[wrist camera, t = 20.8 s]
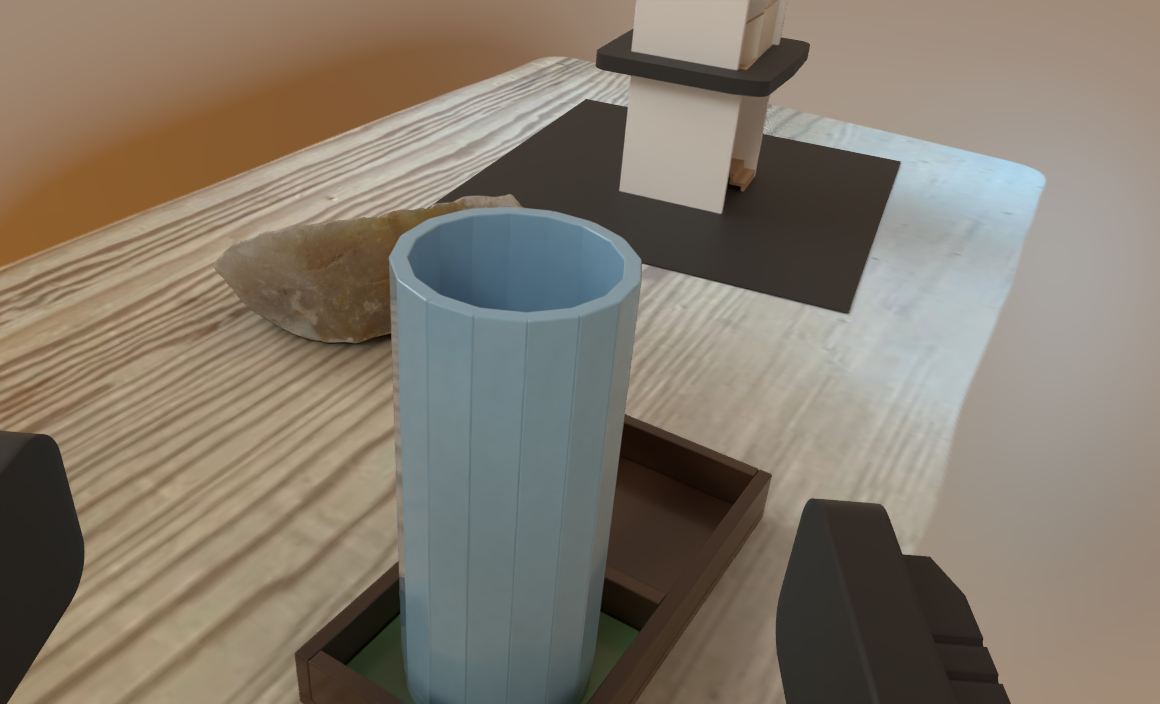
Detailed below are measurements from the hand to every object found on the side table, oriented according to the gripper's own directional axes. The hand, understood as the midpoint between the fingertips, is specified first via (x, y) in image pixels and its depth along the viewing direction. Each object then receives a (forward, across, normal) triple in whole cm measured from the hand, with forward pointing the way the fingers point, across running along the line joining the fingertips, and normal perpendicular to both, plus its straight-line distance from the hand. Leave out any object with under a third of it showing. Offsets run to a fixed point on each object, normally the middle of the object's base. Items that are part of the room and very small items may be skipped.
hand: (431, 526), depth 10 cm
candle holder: (+50, -9, +16) cm, 54 cm away
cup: (+11, 0, +15) cm, 19 cm away
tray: (+14, -2, +16) cm, 21 cm away
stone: (+32, +7, +16) cm, 36 cm away
